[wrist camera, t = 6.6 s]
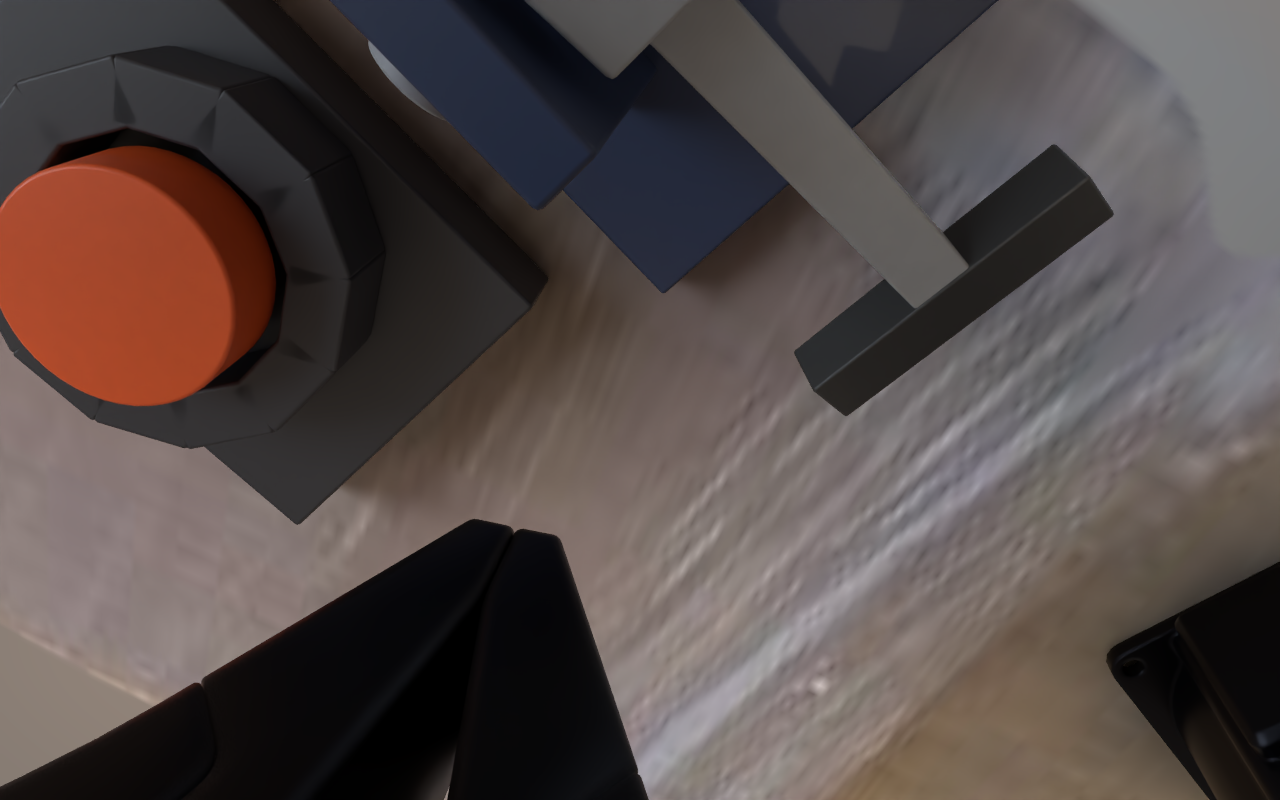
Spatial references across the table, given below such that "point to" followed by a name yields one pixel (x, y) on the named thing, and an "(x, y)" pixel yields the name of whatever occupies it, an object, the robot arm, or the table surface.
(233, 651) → the table surface
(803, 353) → the lever
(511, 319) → the button housing
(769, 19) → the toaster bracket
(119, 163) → the orange button
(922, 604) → the table surface
